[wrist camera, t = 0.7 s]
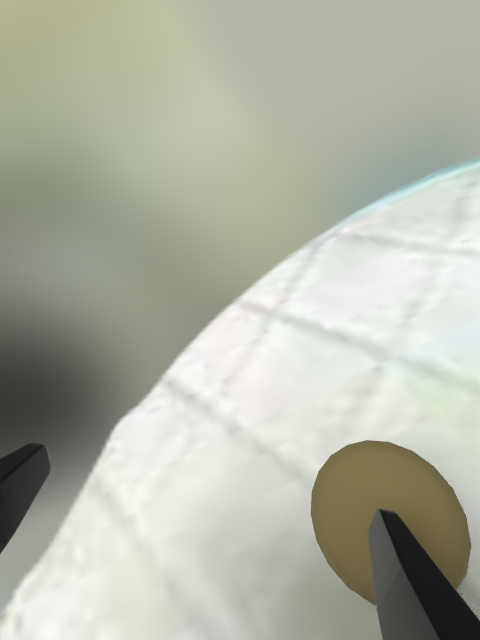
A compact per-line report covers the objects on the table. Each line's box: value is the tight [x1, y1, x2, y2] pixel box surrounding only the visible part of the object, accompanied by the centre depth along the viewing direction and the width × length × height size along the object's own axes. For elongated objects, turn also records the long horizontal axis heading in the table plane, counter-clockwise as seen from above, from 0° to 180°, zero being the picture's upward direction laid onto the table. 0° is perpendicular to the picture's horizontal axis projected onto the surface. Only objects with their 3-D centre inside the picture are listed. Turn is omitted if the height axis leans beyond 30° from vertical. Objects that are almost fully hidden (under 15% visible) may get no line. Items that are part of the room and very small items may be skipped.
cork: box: [311, 440, 471, 606], centre depth 14 cm, size 6×6×11 cm
